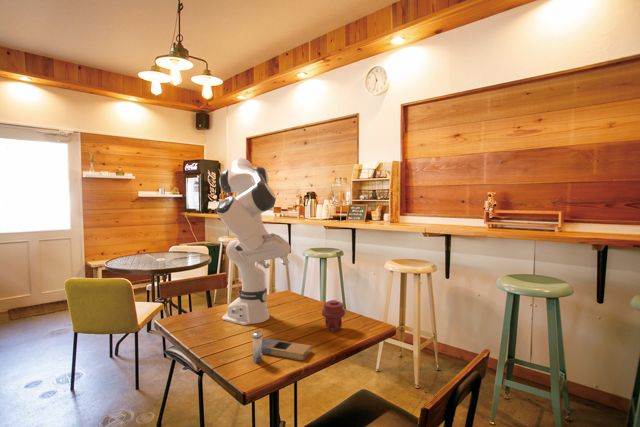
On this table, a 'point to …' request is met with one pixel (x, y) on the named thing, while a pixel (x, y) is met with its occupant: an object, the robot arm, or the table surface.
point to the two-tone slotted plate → (291, 351)
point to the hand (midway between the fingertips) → (277, 265)
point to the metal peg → (257, 346)
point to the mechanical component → (333, 314)
